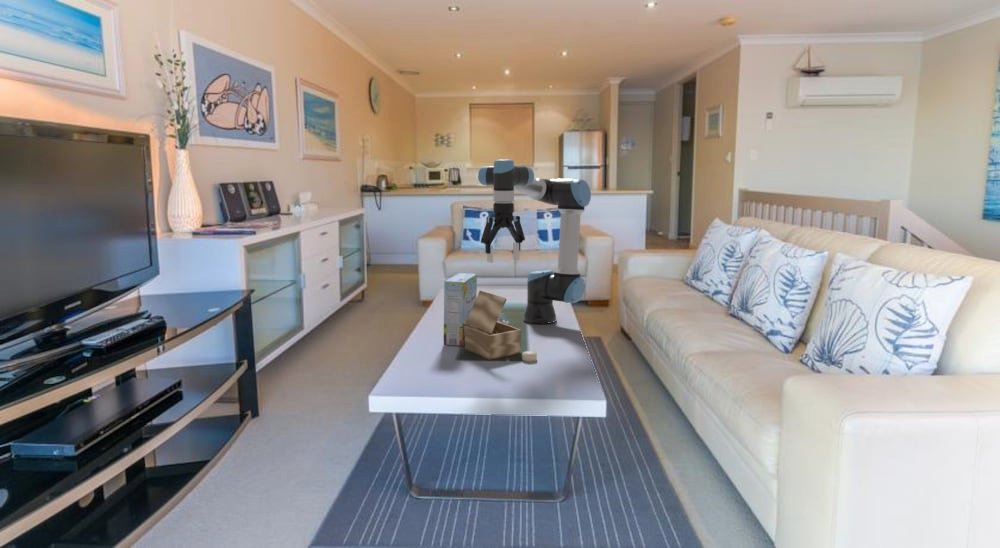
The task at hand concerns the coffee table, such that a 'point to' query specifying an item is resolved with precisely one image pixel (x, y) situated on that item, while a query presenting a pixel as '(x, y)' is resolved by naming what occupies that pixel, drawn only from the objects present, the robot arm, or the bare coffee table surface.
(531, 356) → the cream domed disc
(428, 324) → the coffee table surface
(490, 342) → the tan open box
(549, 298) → the robot arm
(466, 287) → the snack box
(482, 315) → the lid
